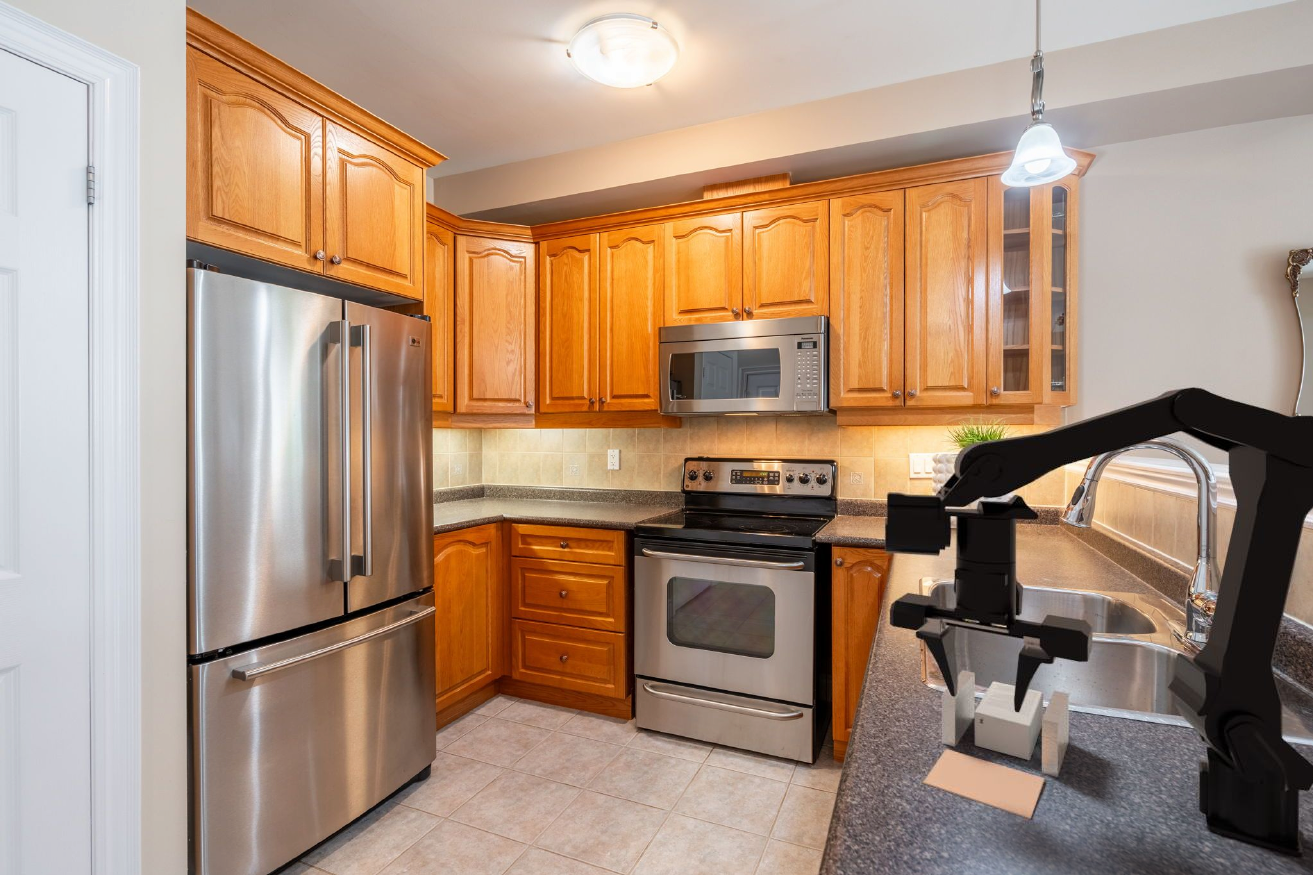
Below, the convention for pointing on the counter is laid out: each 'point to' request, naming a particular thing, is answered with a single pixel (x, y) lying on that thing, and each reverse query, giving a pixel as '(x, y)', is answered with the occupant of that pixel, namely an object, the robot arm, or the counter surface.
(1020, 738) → the skincare box
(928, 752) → the counter surface
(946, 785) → the tile
